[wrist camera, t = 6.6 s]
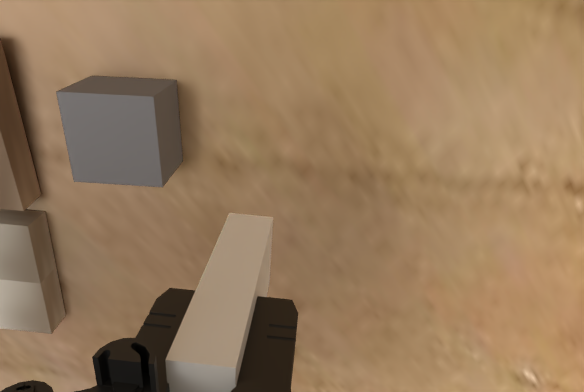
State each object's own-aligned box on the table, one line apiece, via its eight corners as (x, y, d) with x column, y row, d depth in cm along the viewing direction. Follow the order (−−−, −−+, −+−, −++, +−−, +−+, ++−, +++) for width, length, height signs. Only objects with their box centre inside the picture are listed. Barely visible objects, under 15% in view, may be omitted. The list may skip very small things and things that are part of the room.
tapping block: (105, 155, 29) (73, 181, 25) (92, 75, 27) (56, 91, 23) (183, 160, 29) (162, 187, 25) (177, 79, 26) (153, 96, 23)
